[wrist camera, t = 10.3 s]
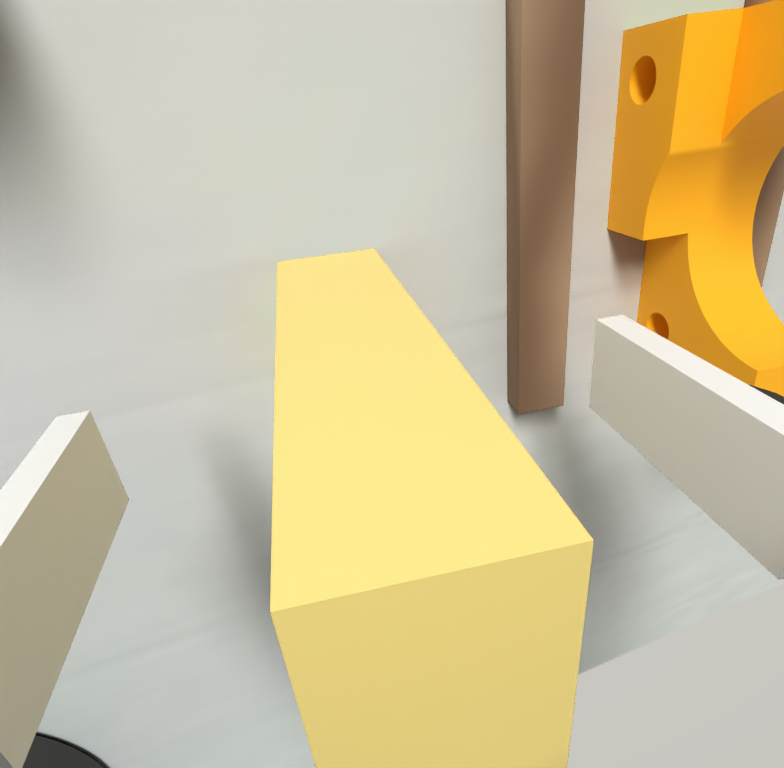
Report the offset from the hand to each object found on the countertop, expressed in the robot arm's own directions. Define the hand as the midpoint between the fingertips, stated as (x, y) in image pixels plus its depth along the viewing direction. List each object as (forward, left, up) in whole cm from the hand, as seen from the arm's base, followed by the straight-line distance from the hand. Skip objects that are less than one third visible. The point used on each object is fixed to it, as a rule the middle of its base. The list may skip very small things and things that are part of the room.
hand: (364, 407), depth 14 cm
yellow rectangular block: (0, 0, -7) cm, 7 cm away
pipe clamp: (+13, +2, -7) cm, 15 cm away
